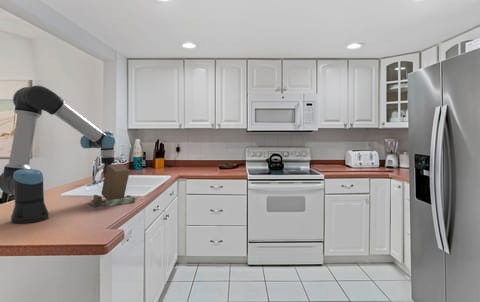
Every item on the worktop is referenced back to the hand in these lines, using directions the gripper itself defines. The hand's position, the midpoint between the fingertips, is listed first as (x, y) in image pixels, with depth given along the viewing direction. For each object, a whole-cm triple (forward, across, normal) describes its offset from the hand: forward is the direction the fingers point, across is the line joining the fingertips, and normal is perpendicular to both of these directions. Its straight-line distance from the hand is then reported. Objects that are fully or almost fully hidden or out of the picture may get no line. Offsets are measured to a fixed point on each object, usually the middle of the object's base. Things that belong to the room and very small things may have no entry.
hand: (109, 194), depth 210 cm
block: (+1, -6, 0) cm, 6 cm away
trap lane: (+2, -9, 0) cm, 9 cm away
